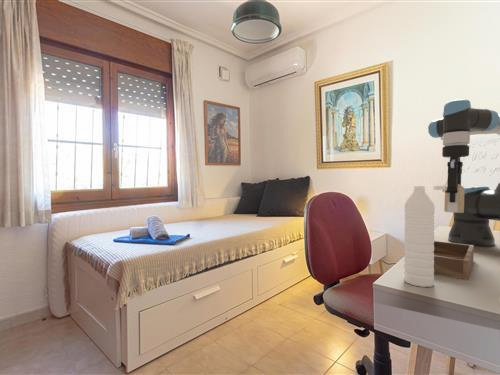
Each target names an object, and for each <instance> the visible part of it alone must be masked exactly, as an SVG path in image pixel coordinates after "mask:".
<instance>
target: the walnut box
mask: <svg viewBox="0 0 500 375" xmlns="http://www.w3.org/2000/svg"><path fill="white" fill-rule="evenodd" d="M474 248H475V245H467V244H461V243H456V242H451V241H449V242H447V241H441V240H434V266H433V267H434V274H433V275H439V276H444V277H451V278H456V279H460V280H465V281H469V277H470V275H471V271H472V267H473V264H474V261H475V260H474V259H475V258H474V256H475V252H474V251H475V250H474Z"/></svg>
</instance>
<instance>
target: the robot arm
mask: <svg viewBox="0 0 500 375" xmlns="http://www.w3.org/2000/svg"><path fill="white" fill-rule="evenodd" d="M442 116H443V117H441V118H437V119H435V120H432V121H431V122H430V123H429V125H428V128H427V130H428V131H427V132H428V134H429V136H430V137H432V138H434V139H437V138H438V139H439V138H440V140H441V141H442V145H443V147H442V149H441V150H442V155H441V156H442V157H443V158H448V159H449V161H447V165H446V166H447V183H446V184H447V186H446V187H447V191H445V190H444V194H445V193H448V210H447V212H446V213H452V212H458V193H457V192H458V191H457V188H458V184H459V185H461V186H462V174H463V166H464V164H463V163H464V162H462V161H461V158H465V157H468V156H470V145H469V144H470V142H471V141H470V139H471V135H472V136H473V135H474V136H475V135H476V136H477V135H490V134H492V135H493V134H496V135H498V136H500V114H499V113H498V112H497V111H495V110H492V109H489V108H483V109H482V108H473V107H472V105H471V101H470V100H469V99H455V100H451V101H449V102H446V103H445V104H444V106H443V112H442ZM464 188H465V192H464V213H453V223H452V225H451V228H450V230H449V232H448V236H447V237H448V241H449V242H451V243H458V244H466V245H474V246H479V247H486V246H487V247H489V246H490V247H491V246H495V241H496V240H495V237H494V235H493V232H492V230H491V227H490V221H491V220H492V221H497V222H498V221H499V222H500V182H498V184H497V185H496V188H495V189H493V190H492V189H490V187H489V186H473V187H471V186H470V187H464Z"/></svg>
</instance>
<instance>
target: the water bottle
mask: <svg viewBox="0 0 500 375" xmlns="http://www.w3.org/2000/svg"><path fill="white" fill-rule="evenodd" d="M446 187H447V186H446V185H433V191H437V190H438V191H439V190H440V191H445V190H446V189H445V188H446ZM425 188H426V187H425V186H423V185H422V186H421V185H420V186H418V185H417V186H413V192H412V193H411V194H410V196H409V197H408V198H407V199H406V201H405V204H404V265H403V266H404V277H403V278H404V280H403V281H405V283H407V284H410V285H412V286H416V287H421V288H427V287H428V288H430V287H433V286H434V285H435V276H434V275H435V274H434V267H433V266H434V241H435V208H436V207H435V204H434V203H435V202H434V201H432V199H431V198H430V196H429V195H428V194H427V193H426V189H425Z"/></svg>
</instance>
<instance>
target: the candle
mask: <svg viewBox="0 0 500 375" xmlns="http://www.w3.org/2000/svg"><path fill="white" fill-rule="evenodd" d="M465 188H466V187H464V186H462V184H461V185H459V184H458V188H457V191H458V192H457V193H458V212H451V213H464V192H465ZM444 189H446V190H444V207H443V208H444V212H445V213H448V212H447V210H448V193H445V191H447V186H446V188H444Z"/></svg>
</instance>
